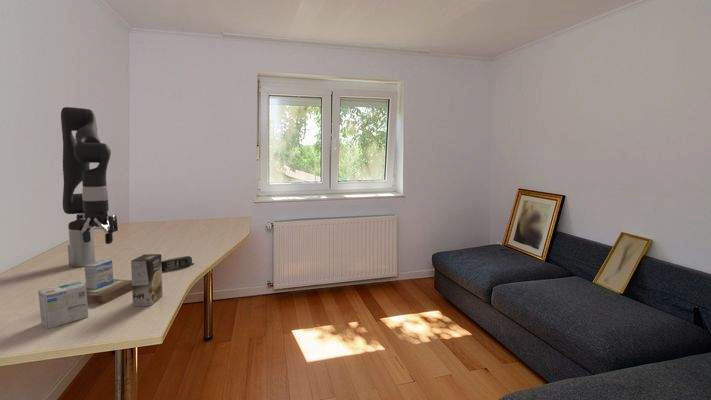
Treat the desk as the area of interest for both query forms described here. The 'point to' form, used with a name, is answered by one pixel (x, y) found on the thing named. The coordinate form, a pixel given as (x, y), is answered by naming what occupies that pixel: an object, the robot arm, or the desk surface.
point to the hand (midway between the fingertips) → (98, 242)
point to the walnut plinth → (108, 291)
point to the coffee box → (146, 279)
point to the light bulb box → (63, 304)
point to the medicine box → (99, 274)
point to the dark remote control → (176, 263)
